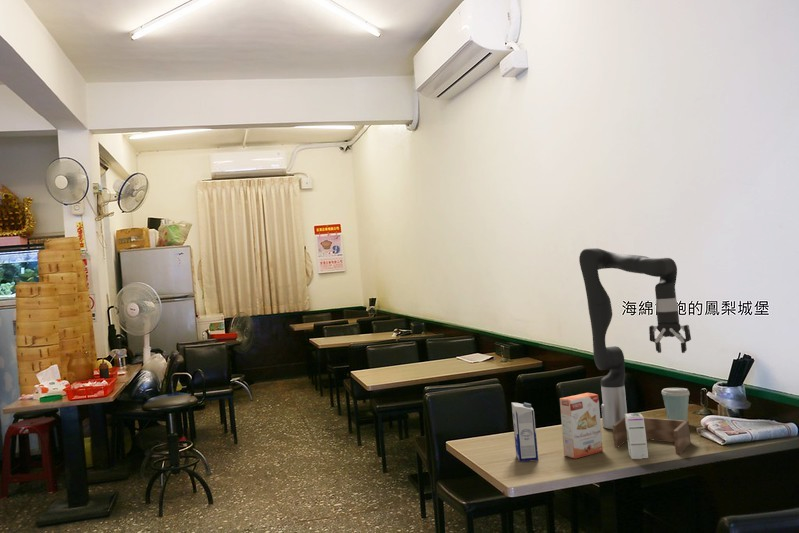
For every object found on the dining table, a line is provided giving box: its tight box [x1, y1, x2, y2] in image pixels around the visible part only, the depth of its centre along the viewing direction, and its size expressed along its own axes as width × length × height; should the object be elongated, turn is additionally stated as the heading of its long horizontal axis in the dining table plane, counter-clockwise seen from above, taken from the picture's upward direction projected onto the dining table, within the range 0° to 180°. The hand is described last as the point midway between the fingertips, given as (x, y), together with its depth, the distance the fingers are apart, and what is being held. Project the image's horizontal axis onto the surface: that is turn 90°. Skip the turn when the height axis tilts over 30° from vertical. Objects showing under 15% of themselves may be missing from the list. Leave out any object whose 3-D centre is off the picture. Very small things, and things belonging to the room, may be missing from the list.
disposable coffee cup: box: [661, 387, 691, 421], centre depth 238 cm, size 11×11×15 cm
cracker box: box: [559, 392, 604, 460], centre depth 211 cm, size 14×6×21 cm, turn 117°
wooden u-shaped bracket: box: [612, 416, 691, 455], centre depth 214 cm, size 22×15×8 cm
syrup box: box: [625, 412, 649, 460], centre depth 202 cm, size 6×6×14 cm
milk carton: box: [511, 402, 539, 462], centre depth 211 cm, size 7×7×20 cm
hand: (671, 352), depth 221 cm, fingers open, 8 cm apart
